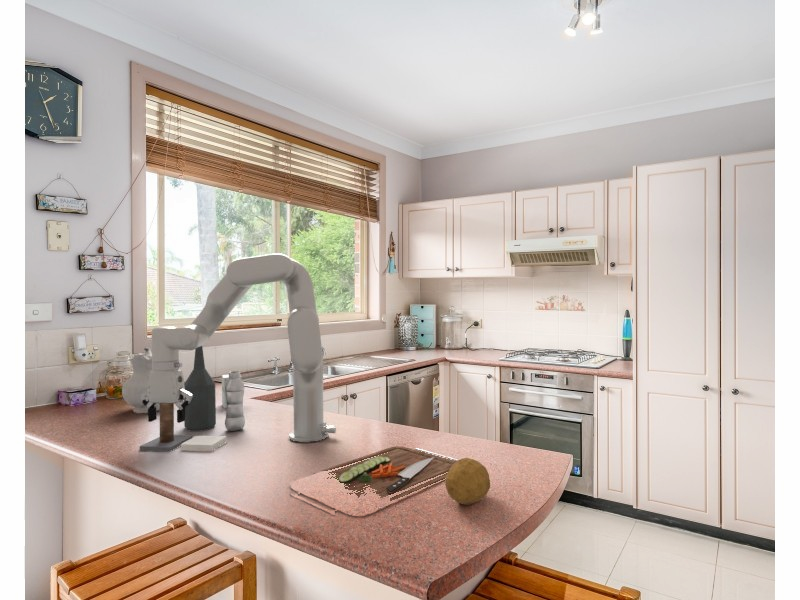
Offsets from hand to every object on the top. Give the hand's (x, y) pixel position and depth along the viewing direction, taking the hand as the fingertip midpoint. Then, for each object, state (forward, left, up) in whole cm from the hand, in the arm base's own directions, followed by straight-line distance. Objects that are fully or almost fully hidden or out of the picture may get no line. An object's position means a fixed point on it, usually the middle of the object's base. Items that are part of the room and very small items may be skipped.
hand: (166, 421), depth 156 cm
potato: (-93, +30, -8) cm, 98 cm away
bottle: (+1, -20, -8) cm, 21 cm away
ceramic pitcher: (+37, -43, -8) cm, 57 cm away
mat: (0, 0, -7) cm, 7 cm away
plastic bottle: (-13, -18, -7) cm, 24 cm away
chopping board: (-71, +18, -8) cm, 74 cm away
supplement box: (+6, -53, -8) cm, 54 cm away
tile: (-17, 0, -6) cm, 19 cm away
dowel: (0, 0, -6) cm, 6 cm away
